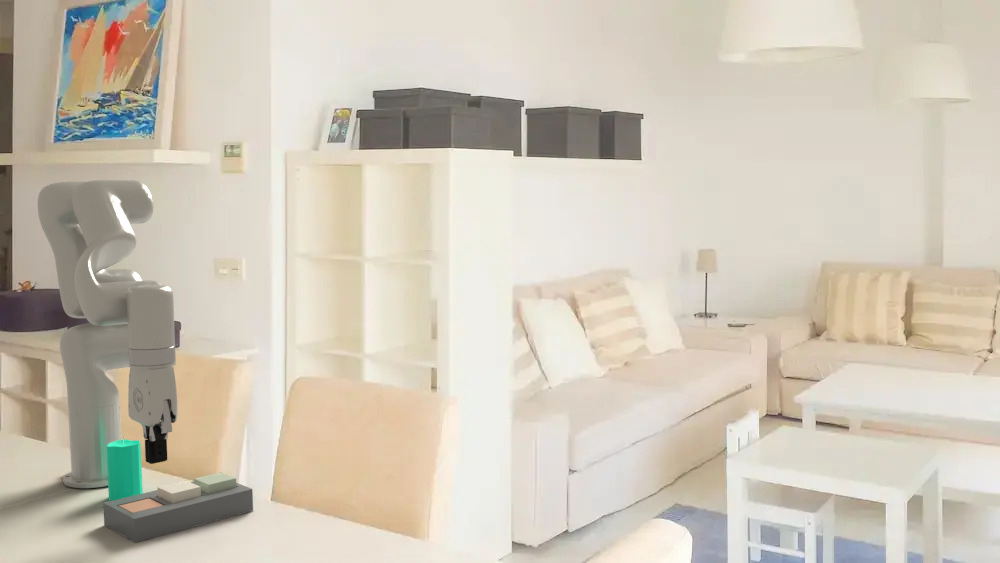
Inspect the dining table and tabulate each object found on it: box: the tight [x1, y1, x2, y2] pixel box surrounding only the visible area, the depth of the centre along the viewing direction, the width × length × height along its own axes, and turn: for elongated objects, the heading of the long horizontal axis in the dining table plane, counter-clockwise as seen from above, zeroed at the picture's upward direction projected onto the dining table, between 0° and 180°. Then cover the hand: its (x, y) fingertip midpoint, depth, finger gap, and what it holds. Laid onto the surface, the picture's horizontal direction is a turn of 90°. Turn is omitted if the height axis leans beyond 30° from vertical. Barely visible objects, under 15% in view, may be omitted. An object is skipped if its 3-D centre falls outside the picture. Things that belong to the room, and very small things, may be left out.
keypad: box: [102, 481, 254, 543], centre depth 170 cm, size 12×22×4 cm, turn 136°
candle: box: [107, 434, 144, 501], centre depth 182 cm, size 6×6×12 cm
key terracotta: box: [119, 499, 163, 513], centre depth 165 cm, size 5×5×3 cm
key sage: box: [193, 471, 237, 494], centre depth 175 cm, size 5×5×3 cm
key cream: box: [156, 480, 201, 503], centre depth 170 cm, size 5×5×3 cm
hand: (156, 461), depth 167 cm, fingers closed
